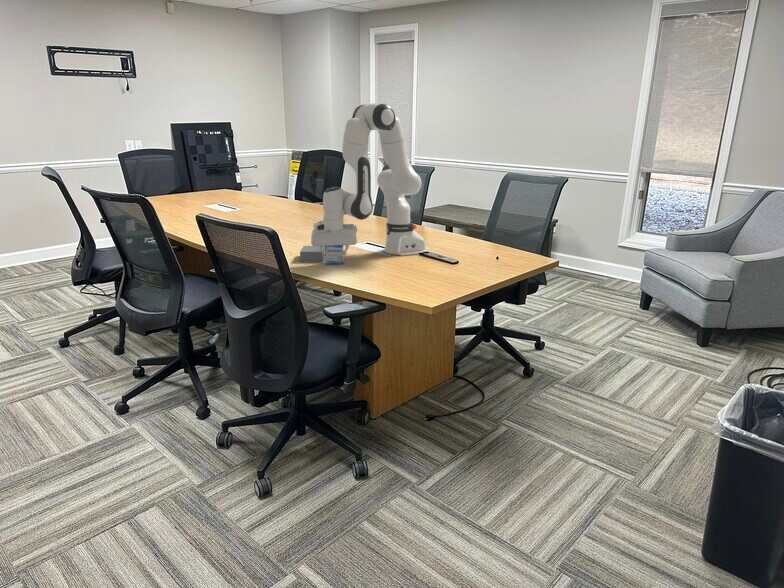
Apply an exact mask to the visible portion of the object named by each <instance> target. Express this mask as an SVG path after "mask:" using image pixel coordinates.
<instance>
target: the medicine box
mask: <svg viewBox="0 0 784 588" xmlns="http://www.w3.org/2000/svg"><path fill="white" fill-rule="evenodd" d="M343 250H344V245H328V246H325V252H326V256H325V257H324V260H325V264H326V265H327V266H328V265H330V264H331V265H343V264H345V263H344V262H345V261H344V260H345V259H344V256H345V255H344V253H343Z"/></svg>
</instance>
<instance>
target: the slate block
mask: <svg viewBox="0 0 784 588" xmlns="http://www.w3.org/2000/svg"><path fill="white" fill-rule="evenodd" d="M322 250H323V251H325V246H323V248H322ZM299 257H300V258H299V260H300V261H302V262H301V263H323V262H324V260H325V256H322V251H321V250H320V248H319V246H312V245H303V246H302V248H301V249H300V251H299ZM323 259H324V260H323ZM303 261H304V262H303Z"/></svg>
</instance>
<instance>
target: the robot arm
mask: <svg viewBox="0 0 784 588" xmlns="http://www.w3.org/2000/svg"><path fill="white" fill-rule="evenodd" d="M354 109H355V110H354V111H353V113H352V117H351V118H349V120H347V121H346V124H345V128H344V133H343V140H342V150H341V151H342V157H343V160H344V161H345V163H346V164H347V165H349V166H350V167H351V168H352V170H353V172H354V174H355V176H356V177H355V178H356V179H355V180H356V182H355V183H356V186H355V187H356V190H355V191H356V194H354V193H351V192H348V191H346V190H344V189H343V188H342V187H340V186H331V187H328V188H325V189H324V192H323V195H322V210H323V219H322V220H320V221H316V222H314V223H313V225H312V226H313V229H312V231H311V235H310V245H311V246H319V248H320V250H321V251H322V256H326V252H325V251H323V250H322V248H323V246H328V245H343V246H344V247H345V248H344V249H343V253H344V256H346V255H347V251H348V249H349V248H350V246H356V244H357V243H358V242H357V241H358V239H357V233H358V227H357V225H355V224H354V223H351V224H350V223H344V222H345V221H344V215H346V216H349V217H353V218H354V219H355V218H356V219H357V220H360V221H361V220H366V219H367V218H369V217H370V215H371V214H372V212H373V209H374V204H373V200H372V193H371V192H372V191H371V190H372V189H371V188H372V186H371V181H372V180H371V177H372V175H371V163H370V161H369V139H370V138H369V136H370V133H371V132H372V131H377V133H378V134H379V141H380V148H381V154H382V158H383V161H384V162H385V163H386V164H387V166H388V167H389V169H384V170H382V171H380V172H379V174H378V176H377V179H376V181H377V182H376V183H377V185H378V187H379V188H380V190H381V191H382V194H383V197H384V199H385V203H386V213H387V215H386V225H385V234H386V238H385V239H386V240H385V245H384V249H383V252H384V253H386V254H390V255H398V256H401V257H402V256H404V257H405V256H413V255H420V254H419V253H421V252H423V251H427V252H429V253H430V252H431V250H430V247H428V246H426V241H425V239H424V237H423V236H422V235H421V234H419V233H418V232H417V231H415V230H416V229H417V224H415V223H412V222H411V206H410V204H409V203H408V201H407V199H406V197H405V196H414V195H416V194H418V193H419V192H420V191H421V188H422V184H423V183H422V178H421V176H420V175H419V174H418V173H417V172H416V171H415V170H414V168H413V166H412V164H411V161H410V159H409V157H408V152H407V148H406V142H405V141H406V140H405V134H404V131H403V127H402V124H401V123H402V122H401V120H400V119H399V117H398V116H396V115H395V111H394V109H393V108H392V107H391V105H389V104H386V103H375V102H374V103H373V102H372V103H368V104H361V105H358V106H356V107H355V108H354Z"/></svg>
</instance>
